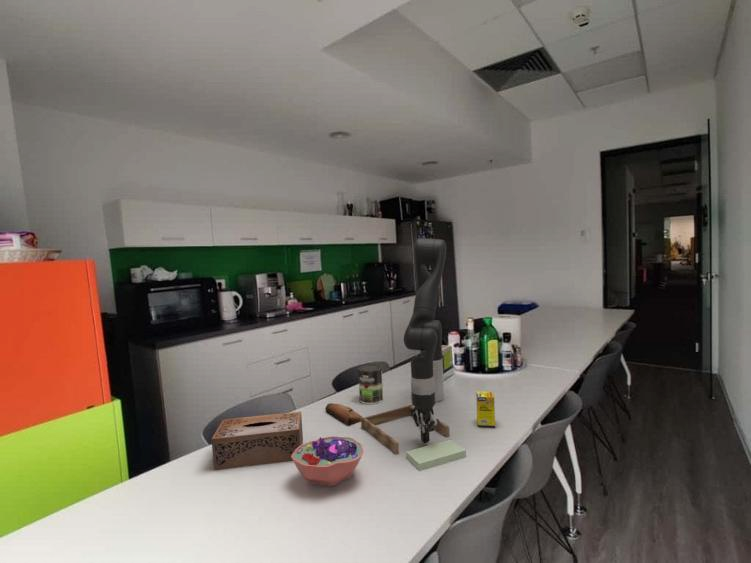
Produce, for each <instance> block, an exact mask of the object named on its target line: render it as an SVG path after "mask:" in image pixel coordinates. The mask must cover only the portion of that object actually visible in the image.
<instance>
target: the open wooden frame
mask: <svg viewBox="0 0 751 563" xmlns="http://www.w3.org/2000/svg"><path fill="white" fill-rule="evenodd" d="M413 408H414V406H413V404H410V405H406V406H402V407H399V408H398V407H397V408H395V409H391V410H387V411H384V412H380V413H376V414H372V415H368V416H366V417H365V416H364V417H363V418H361V422H360V427H361V429H362V430H365V431H366V432H368V433H369V434H370V435H371V436H373V437H374V438H375V439H376V440H377V441H379V442H380V443H381V444H382V445H384V446H385V447H386V448H388V450H390V451H391V452H393V454H395V455H398V454H400V451H399V441H397V440H396V439H395V438H393V437H392V436H390V435H389V434H388V433H386V432H385V431H384V430H382V429H381V428H379V425H380V424H385V423H387V422H391V421H395V420H398V419H402V418H406V417H409V416H411V417H412V414H411V412H410V409H413ZM434 431H436V432H438V433H439V434H441V435H443V436H444V437H445V438H449V437H450V426H449V425H448V424H445V423H444V422H442V421H441V420H439V423H438V425H437V426H436V428H435V429H434Z"/></svg>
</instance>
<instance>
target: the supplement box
mask: <svg viewBox="0 0 751 563" xmlns="http://www.w3.org/2000/svg"><path fill="white" fill-rule="evenodd" d="M475 396H476V397H475V398H476V401H475V402H476V422H477V428H491V429H492V428H496V416H495V415H496V412H495V411H496V410H495V408H496V407H495V394H494V391H484V390H483V391H482V390H481V391H480V390H479V391H478V390H476V392H475Z"/></svg>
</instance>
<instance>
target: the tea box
mask: <svg viewBox="0 0 751 563" xmlns="http://www.w3.org/2000/svg"><path fill="white" fill-rule="evenodd" d="M453 358H454V357H453V346H452V345H447V344H445V345H444V344H442V362H443V382H444V381H445V380H447V379H448V378H450V377H451V376H453V375H454V361H453V360H454V359H453Z"/></svg>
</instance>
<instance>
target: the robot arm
mask: <svg viewBox="0 0 751 563" xmlns="http://www.w3.org/2000/svg"><path fill="white" fill-rule="evenodd" d="M446 258H447V244H446V241H445V240H444V239H439V238H424V237H423V238H421V237H420V238H418V239H416V240H415V242H414V245H413V262H414V272H415V298H414V303H413V304H414V305H413V311H412V315H411V317H410V320H409V323H408V325H407V327H406V329H405V332H404V335H403V343H404V345H405V346H404V347H406V349H408V350H412V351H420V352H419V354H420V355H418V356H414V357H413V358H412V359H410V374H411V377H410V388H411V389H410V394H411V405H413V406H414V408H413V409H410V412H411V414H412V416H411V417H412V419H413V421H414V423H415V426H416V427H417V428H418V429H419V431H420V441H421V442H422V443H423V444H427V443H430V433H431V432H434V431H435V430H434V429H435V428H436V426H437V425H438V423H439V421H440V420H439V418H436V417H435V411H434V406H435V405H436V403H438V402H441V401H443V400H444V399H445V394H444V389H445V387H444V381H443V362H442V345H443V344H442V343H443V327H442V326H443V325H442V323H441V321H440V320H437V319H435V314H436V310H437V308H438V306H439V304H440V300H441V299H440V297H441V289H440V285H441V280H442V277H443V276H442V275H443V272H444V267H445V264H446V263H445V262H446ZM427 266H432V267H433V266H434V267H433V270H432V272H431V273H430V272H429V271H428V269H427Z"/></svg>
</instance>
